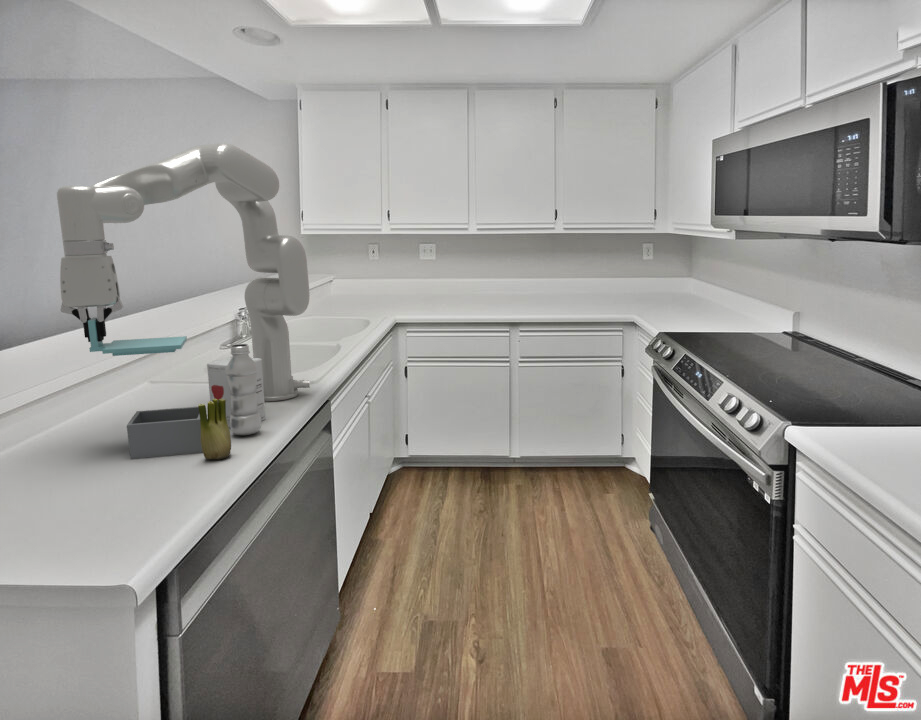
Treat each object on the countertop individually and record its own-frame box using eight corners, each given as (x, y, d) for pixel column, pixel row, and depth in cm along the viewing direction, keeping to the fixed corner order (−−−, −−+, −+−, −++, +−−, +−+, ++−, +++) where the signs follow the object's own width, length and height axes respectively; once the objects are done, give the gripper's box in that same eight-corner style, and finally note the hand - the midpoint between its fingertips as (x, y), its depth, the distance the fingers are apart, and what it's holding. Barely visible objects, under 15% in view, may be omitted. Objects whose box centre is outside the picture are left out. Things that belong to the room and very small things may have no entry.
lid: (187, 343, 158) (184, 311, 156) (181, 352, 147) (178, 318, 145) (99, 348, 153) (95, 315, 152) (86, 358, 142) (82, 323, 141)
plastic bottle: (229, 432, 162) (221, 344, 158) (260, 428, 164) (253, 341, 160) (232, 440, 156) (224, 349, 152) (264, 436, 158) (257, 346, 154)
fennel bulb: (203, 463, 141) (197, 404, 139) (201, 456, 146) (195, 398, 143) (234, 459, 144) (229, 401, 141) (231, 452, 148) (226, 395, 146)
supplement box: (210, 426, 166) (204, 363, 164) (235, 416, 175) (230, 355, 172) (243, 430, 163) (238, 365, 160) (267, 419, 172) (262, 357, 169)
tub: (208, 436, 159) (205, 406, 157) (203, 452, 148) (200, 419, 147) (140, 442, 155) (136, 411, 154) (130, 458, 145) (126, 425, 143)
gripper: (130, 247, 149) (139, 335, 153) (47, 250, 145) (59, 340, 149) (123, 249, 142) (133, 341, 146) (36, 251, 138) (49, 346, 142)
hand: (96, 340), depth 147 cm, fingers closed on lid, 1 cm apart
